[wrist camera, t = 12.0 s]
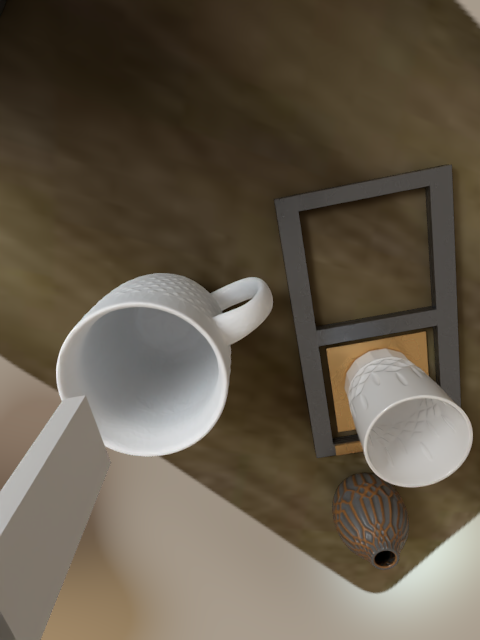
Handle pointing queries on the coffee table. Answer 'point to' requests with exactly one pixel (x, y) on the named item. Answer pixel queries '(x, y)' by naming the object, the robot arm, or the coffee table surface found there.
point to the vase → (371, 519)
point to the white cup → (405, 420)
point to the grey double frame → (410, 344)
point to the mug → (159, 359)
